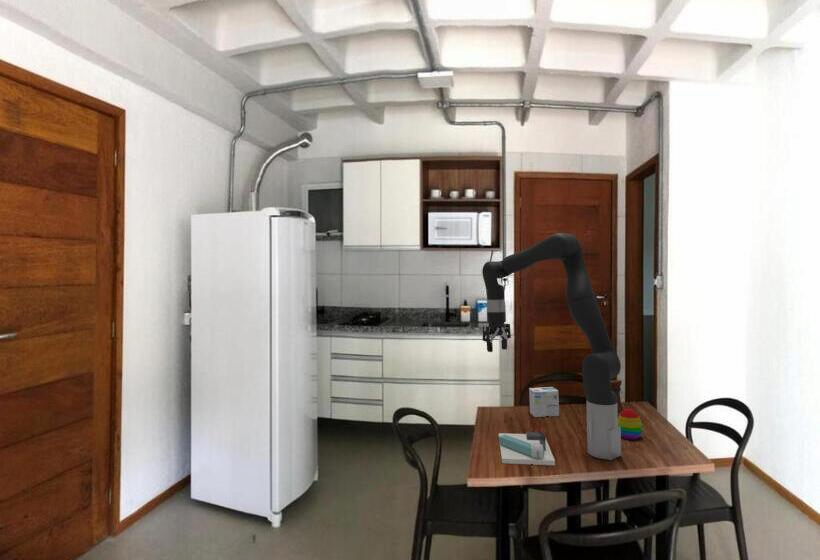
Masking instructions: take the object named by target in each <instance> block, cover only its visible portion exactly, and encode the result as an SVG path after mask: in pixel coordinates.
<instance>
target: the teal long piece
mask: <svg viewBox="0 0 820 560" xmlns="http://www.w3.org/2000/svg"><path fill="white" fill-rule="evenodd" d="M498 444H499V445H500V444H501V445H503V446H506V447H508V448H511V449H514V450H516V451H519V452H521V453H524V454H526V455H529V456H531V457H533V458H536V459H541V458H543V457H544V449H543V445H542V444H539V443H533V444H530V443H527V442H524V441H522V440H519V439H516V438H513V437H511V436H508V435H502V436H499V435H498Z"/></svg>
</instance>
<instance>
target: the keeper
mask: <svg viewBox="0 0 820 560" xmlns="http://www.w3.org/2000/svg"><path fill="white" fill-rule="evenodd" d="M525 434H526V439H527V440H539V444H542V445H543V449H544V451H546V440H547V438H546V434H545V432H536V431H535V432H533V431H532V432H528V431H527V432H525Z"/></svg>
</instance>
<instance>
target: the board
mask: <svg viewBox="0 0 820 560" xmlns="http://www.w3.org/2000/svg"><path fill="white" fill-rule="evenodd" d="M502 435H508V436H511V437H513V438H516V439H519V440H522V441H524V442H527V443H530V444H533V443H539V440H527V439H526V433H504V432H503V433H498V437H499V436H502ZM499 448H500V457H501V463H502V464H506V465H507V464H511V465H531V464H533V465H534V466H535V465H536V466H537V465H538V466H556V460H555V457H554V455H553V452H552V450H551V448H550V445H549V443H548V441H547V439H546V451H544V457H543V458H541V459H536V458H533V457H531V456H529V455H526V454H524V453H521V452H519V451H516V450H514V449H511V448H508V447H506V446H503V445H501V444H499ZM533 465H532V466H533Z"/></svg>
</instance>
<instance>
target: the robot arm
mask: <svg viewBox="0 0 820 560" xmlns="http://www.w3.org/2000/svg"><path fill="white" fill-rule="evenodd" d="M549 260H558V261H561V262H562V264H563V267H564V269H565V274H566V287H565V299H566V303H567V307H568V310H569V312H570V315H571V318H572V320H573V321H574V323H575V324H576V325H577V327H578V328H579V329H580V330H581V332H582V333H583V334H584V335H585V337H586V339H587V341H588V343H589V346H590V349H591V352H592V353H589V354H587V355H586V356H584V358H583V361H582V367H581V369H582V373H581V374H582V382H583V383H582V385H583V387H582V388H583V391H584V394H585V396H586V397H585V398H586V435H587V436H586V440H587V441H586V442H587V444H586V446H587V453H588V455H589V456H591V457H593V458H594V457H595V458H597V459H601V460H608V461H613V460H615V459H617V458H619V457H621V456H622V436H621V427H620V426H618V414H617V394H616V393H615V392H613V391H611V385H610V380H612V379H615V378H616V377H618V376H619V375H620V373H621V369H622V368H621V367H622V365H621V360H620V358H619V355H618V353H617V351H616V349H615V347H614V345H613V343H612V340H611V338H610V336H609V334H608V331H607V328H606V323H605V321H604V320H603V319H604V318H603V316H602V314H601V310H600V306H599V303H598V301H597V297H596V294H595V292H594V289H593V287H592V284H591V280H590V277H589V274H588V271H587V269H586V263H585V259H584V256H583V251H582V246H581V243H580V241H579V239H578V237H576V236H575V235H574V234H572V233H571V234H570V233H559V232H558V233H557V232H556V233H553V234H552V235H550V236H547V237H545V238H544V239H543V240H542V241H541V240H540V241H539V242H538V243H536V244H534V245H533V246H530V247H528V248H525V249H523V250H520V251H518V252H515V253H512V254H510V255H507V256H505V257H504V258H503V259H502V260H499V261H497V260H496V261H491V260H490V261H487V262H485V263H484V264H483V266H482V269H481V272H482V273H481V274H482V278H483V282H484V285H485V287H486V288H485V289H486V322H487V323H488V326H485V325H483V326H482V341H483V342H485V343H486V350H487V352H488V353H493V351H494V350H493V347H494V346H493V341H494V339H495V338H496V337H498V336H499V337H500V339H501V340H500V341H501V349H502V350H507V349H508V340H509V339H511V338H512V336H511V335H512V333H511V324H510V323H506V322H507V314H506V312H507V311H506V310H507V309H506V306H507V305H506V300H505V297H506V296H505V286H504V285H501V284H499V282H498V281H499V280H498V279H503V278H507V277H509V276H510V275H512V274H514V273H517V272H521V271H524V270H526V269H529V268H530V267H531V266H533V265H535V264H536V263H541V262H542V261H543V262H544V261H549Z"/></svg>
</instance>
